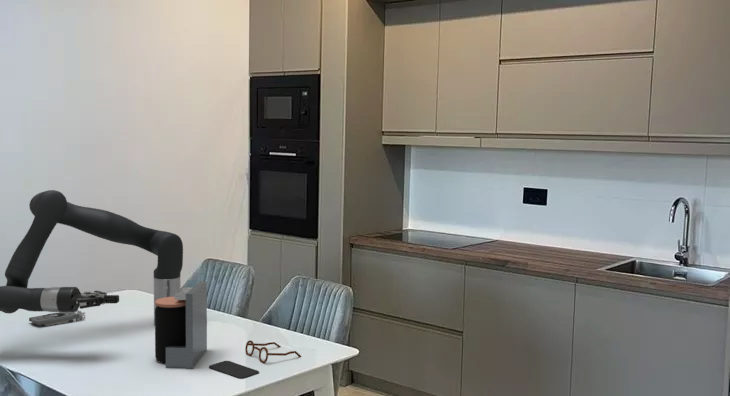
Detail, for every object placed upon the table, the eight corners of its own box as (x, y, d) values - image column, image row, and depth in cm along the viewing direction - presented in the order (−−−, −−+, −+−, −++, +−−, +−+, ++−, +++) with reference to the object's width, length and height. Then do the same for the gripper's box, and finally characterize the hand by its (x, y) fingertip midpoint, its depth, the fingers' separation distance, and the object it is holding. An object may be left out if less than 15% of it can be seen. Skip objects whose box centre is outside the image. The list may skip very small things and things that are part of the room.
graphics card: (71, 306, 258) (85, 311, 249) (71, 316, 258) (86, 321, 250) (24, 314, 246) (37, 320, 237) (25, 324, 246) (38, 330, 238)
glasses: (244, 355, 213) (244, 339, 213) (280, 347, 221) (280, 332, 221) (265, 366, 203) (265, 349, 203) (302, 358, 211) (302, 342, 211)
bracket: (165, 368, 198) (164, 293, 197) (181, 349, 216) (181, 280, 215) (192, 368, 198) (192, 293, 197) (206, 349, 216) (206, 281, 215)
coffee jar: (199, 356, 209) (198, 298, 208) (174, 366, 200) (174, 306, 198) (172, 351, 214) (172, 295, 213) (147, 361, 205) (146, 301, 203)
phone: (241, 378, 190) (206, 366, 199) (241, 381, 190) (206, 368, 200) (261, 371, 196) (226, 360, 205) (261, 374, 196) (226, 362, 205)
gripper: (50, 292, 199) (110, 292, 200) (69, 282, 213) (125, 282, 213) (51, 317, 200) (111, 317, 200) (70, 306, 213) (126, 305, 213)
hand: (118, 299), depth 206 cm, fingers closed
